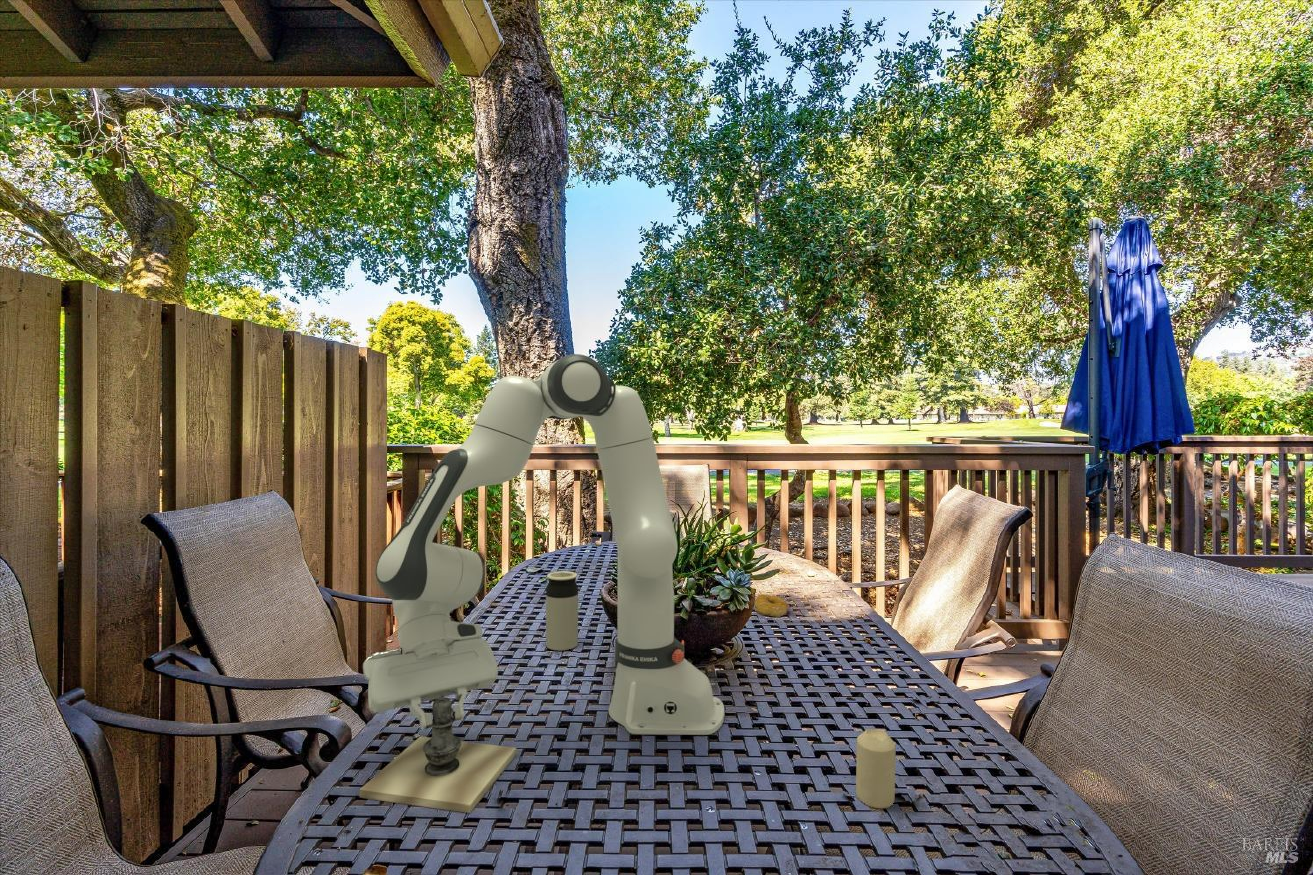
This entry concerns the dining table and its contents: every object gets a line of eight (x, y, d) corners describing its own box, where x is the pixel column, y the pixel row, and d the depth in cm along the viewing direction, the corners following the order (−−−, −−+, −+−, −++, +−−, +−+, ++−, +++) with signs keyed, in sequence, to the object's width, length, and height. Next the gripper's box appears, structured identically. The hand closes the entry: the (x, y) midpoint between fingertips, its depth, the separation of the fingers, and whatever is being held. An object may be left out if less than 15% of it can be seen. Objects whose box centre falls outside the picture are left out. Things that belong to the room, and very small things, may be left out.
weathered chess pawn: (458, 775, 97) (458, 700, 97) (419, 778, 96) (418, 702, 96) (463, 754, 103) (463, 683, 102) (426, 757, 102) (426, 685, 101)
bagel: (764, 619, 178) (765, 603, 178) (748, 608, 189) (748, 592, 189) (795, 616, 181) (795, 600, 181) (777, 605, 192) (778, 590, 192)
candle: (876, 813, 90) (877, 745, 90) (848, 792, 95) (849, 728, 95) (902, 802, 93) (903, 736, 93) (874, 783, 98) (875, 720, 97)
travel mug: (575, 651, 152) (575, 578, 152) (543, 651, 153) (543, 578, 152) (580, 640, 160) (580, 570, 160) (549, 639, 160) (549, 570, 160)
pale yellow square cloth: (516, 754, 105) (516, 747, 105) (470, 812, 90) (469, 804, 90) (420, 743, 109) (420, 736, 109) (359, 797, 93) (359, 789, 93)
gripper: (363, 646, 99) (374, 733, 91) (489, 623, 110) (509, 699, 102) (359, 664, 103) (369, 749, 95) (481, 641, 114) (500, 714, 106)
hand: (443, 723), depth 99 cm, fingers closed on weathered chess pawn, 4 cm apart
